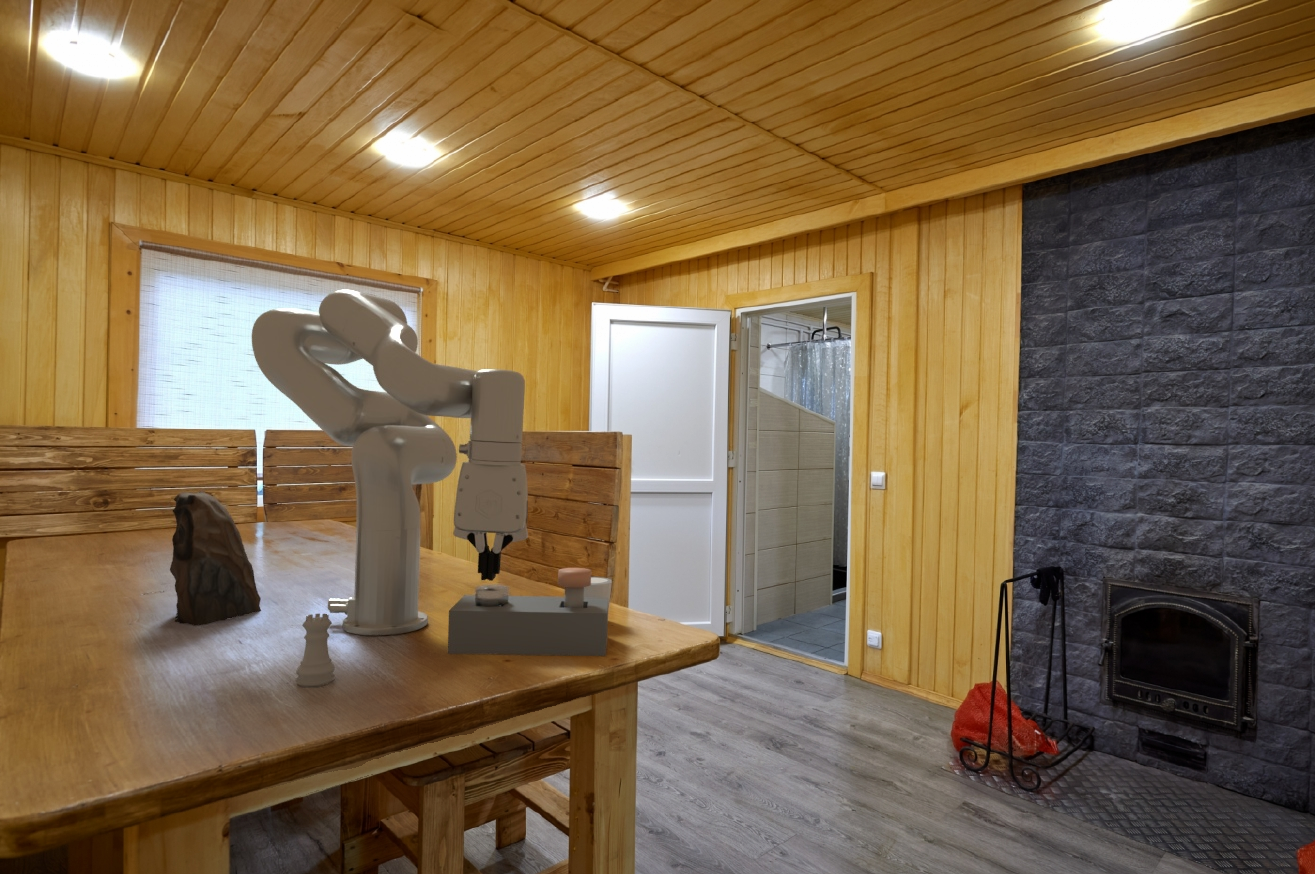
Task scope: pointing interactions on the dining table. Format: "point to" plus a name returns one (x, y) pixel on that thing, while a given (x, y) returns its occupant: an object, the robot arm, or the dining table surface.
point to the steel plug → (491, 595)
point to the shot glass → (599, 588)
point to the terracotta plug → (574, 585)
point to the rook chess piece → (316, 654)
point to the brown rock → (210, 563)
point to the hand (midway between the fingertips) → (488, 578)
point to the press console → (529, 627)
